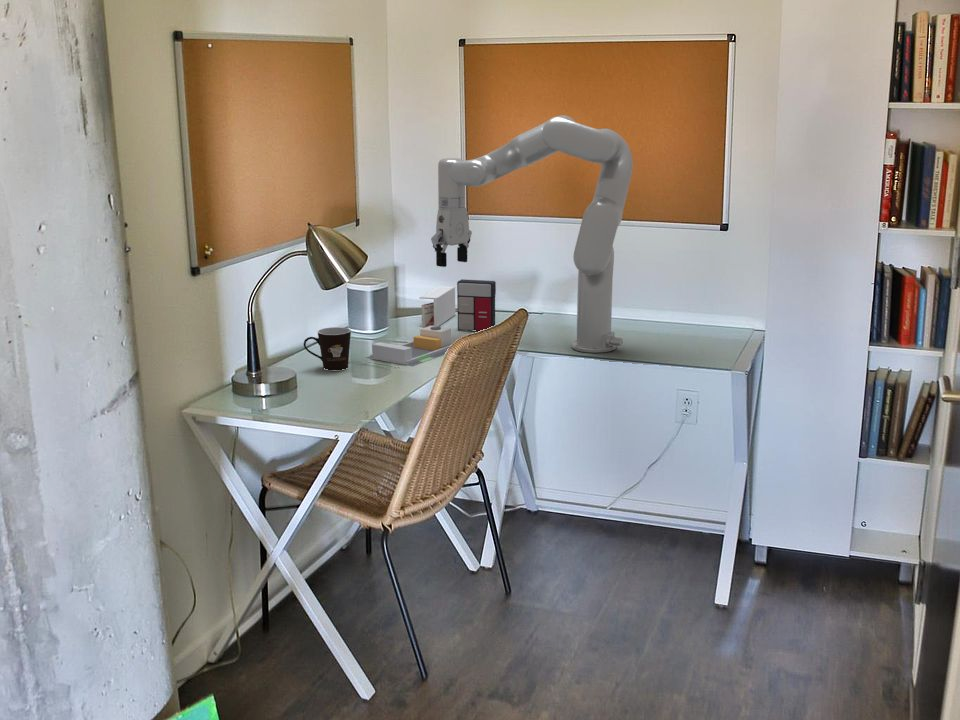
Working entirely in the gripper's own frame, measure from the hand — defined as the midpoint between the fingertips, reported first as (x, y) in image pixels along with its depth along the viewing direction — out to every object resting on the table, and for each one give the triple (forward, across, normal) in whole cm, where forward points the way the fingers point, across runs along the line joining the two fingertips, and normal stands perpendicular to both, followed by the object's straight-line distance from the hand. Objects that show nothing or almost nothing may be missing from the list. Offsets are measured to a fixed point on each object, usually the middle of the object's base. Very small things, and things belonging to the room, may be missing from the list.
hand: (452, 264), depth 304 cm
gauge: (+21, -11, -3) cm, 24 cm away
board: (+22, -20, -3) cm, 30 cm away
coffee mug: (+23, -42, +8) cm, 48 cm away
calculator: (+23, +14, +2) cm, 27 cm away
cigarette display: (+23, +18, +19) cm, 35 cm away
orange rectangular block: (+21, -15, -3) cm, 26 cm away
